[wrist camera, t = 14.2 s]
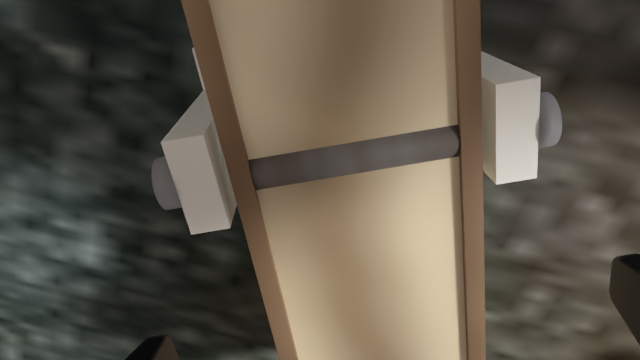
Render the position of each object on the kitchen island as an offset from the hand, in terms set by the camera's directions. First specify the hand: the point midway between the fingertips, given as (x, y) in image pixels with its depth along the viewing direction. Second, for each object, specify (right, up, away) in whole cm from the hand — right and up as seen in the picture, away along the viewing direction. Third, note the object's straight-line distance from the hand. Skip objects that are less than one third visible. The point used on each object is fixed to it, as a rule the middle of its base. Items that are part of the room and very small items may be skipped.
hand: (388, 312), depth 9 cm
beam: (-1, +6, +9) cm, 11 cm away
